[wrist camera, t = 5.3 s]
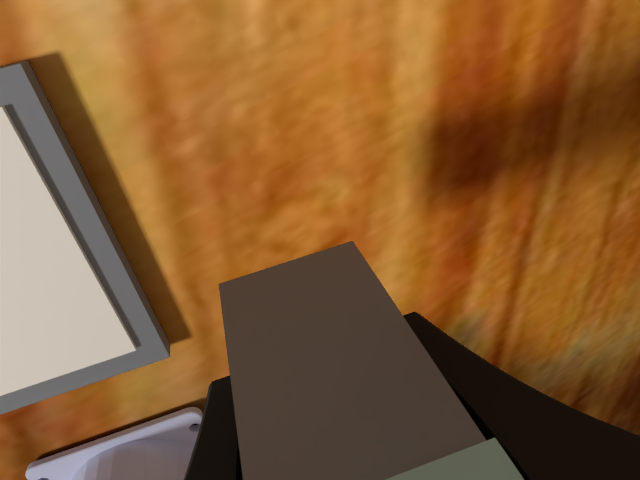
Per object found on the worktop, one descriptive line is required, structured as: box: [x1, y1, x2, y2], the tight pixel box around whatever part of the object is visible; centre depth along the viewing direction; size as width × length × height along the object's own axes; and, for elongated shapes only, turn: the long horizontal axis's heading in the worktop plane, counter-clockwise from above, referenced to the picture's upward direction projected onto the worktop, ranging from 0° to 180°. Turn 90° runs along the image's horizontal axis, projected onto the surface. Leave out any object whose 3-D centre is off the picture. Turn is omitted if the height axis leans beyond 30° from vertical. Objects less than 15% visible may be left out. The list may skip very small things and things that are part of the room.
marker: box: [219, 241, 524, 480], centre depth 10 cm, size 4×4×8 cm
